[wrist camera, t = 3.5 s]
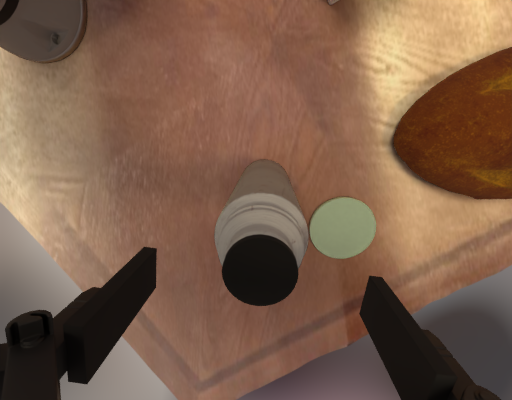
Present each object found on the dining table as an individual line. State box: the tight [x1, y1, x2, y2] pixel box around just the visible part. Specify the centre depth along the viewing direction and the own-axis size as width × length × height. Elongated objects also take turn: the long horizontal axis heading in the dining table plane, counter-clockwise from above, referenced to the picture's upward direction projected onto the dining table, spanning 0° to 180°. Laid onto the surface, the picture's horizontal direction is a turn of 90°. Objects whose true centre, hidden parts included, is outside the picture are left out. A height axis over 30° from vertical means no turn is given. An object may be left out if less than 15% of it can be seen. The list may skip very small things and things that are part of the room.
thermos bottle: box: [214, 159, 309, 306], centre depth 30 cm, size 8×8×28 cm
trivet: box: [309, 197, 376, 259], centre depth 45 cm, size 11×11×1 cm
